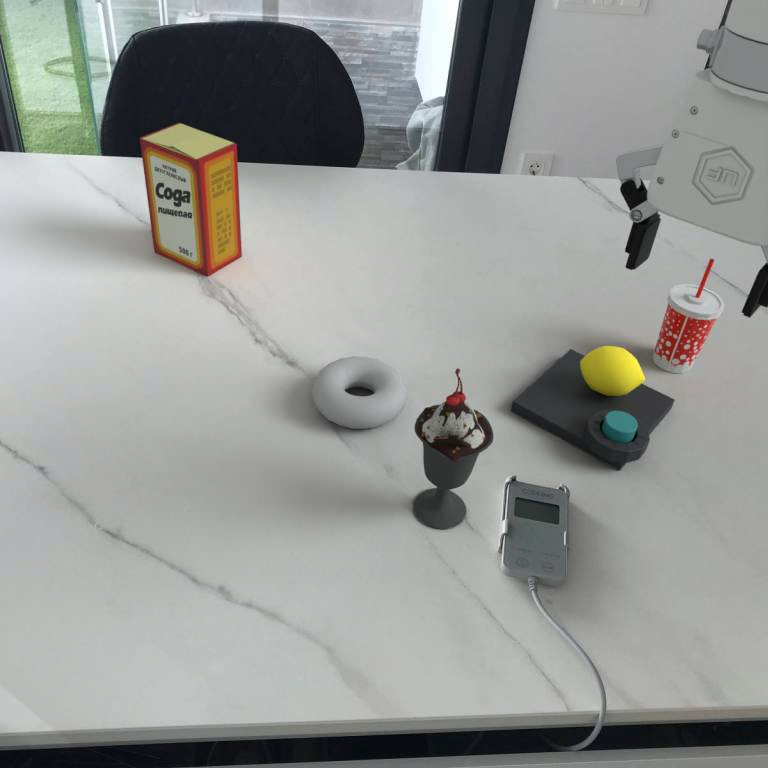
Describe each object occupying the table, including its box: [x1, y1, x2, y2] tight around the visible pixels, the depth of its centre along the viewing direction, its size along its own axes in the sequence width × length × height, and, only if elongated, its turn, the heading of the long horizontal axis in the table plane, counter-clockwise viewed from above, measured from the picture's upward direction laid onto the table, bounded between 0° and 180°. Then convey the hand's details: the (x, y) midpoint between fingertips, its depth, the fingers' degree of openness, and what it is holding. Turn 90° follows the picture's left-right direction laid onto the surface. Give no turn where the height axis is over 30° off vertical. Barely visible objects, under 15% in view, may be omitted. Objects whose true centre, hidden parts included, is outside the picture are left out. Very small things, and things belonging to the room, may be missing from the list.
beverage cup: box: [652, 258, 726, 374], centre depth 88 cm, size 6×6×14 cm
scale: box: [510, 348, 676, 471], centre depth 83 cm, size 14×14×3 cm
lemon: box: [580, 345, 646, 396], centre depth 83 cm, size 7×5×5 cm
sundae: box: [413, 368, 494, 530], centre depth 67 cm, size 7×7×15 cm
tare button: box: [602, 411, 638, 443], centre depth 78 cm, size 3×3×2 cm
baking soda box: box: [139, 122, 243, 277], centre depth 98 cm, size 10×6×16 cm
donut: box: [311, 356, 408, 430], centre depth 81 cm, size 10×3×10 cm
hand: (691, 285), depth 62 cm, fingers open, 9 cm apart
